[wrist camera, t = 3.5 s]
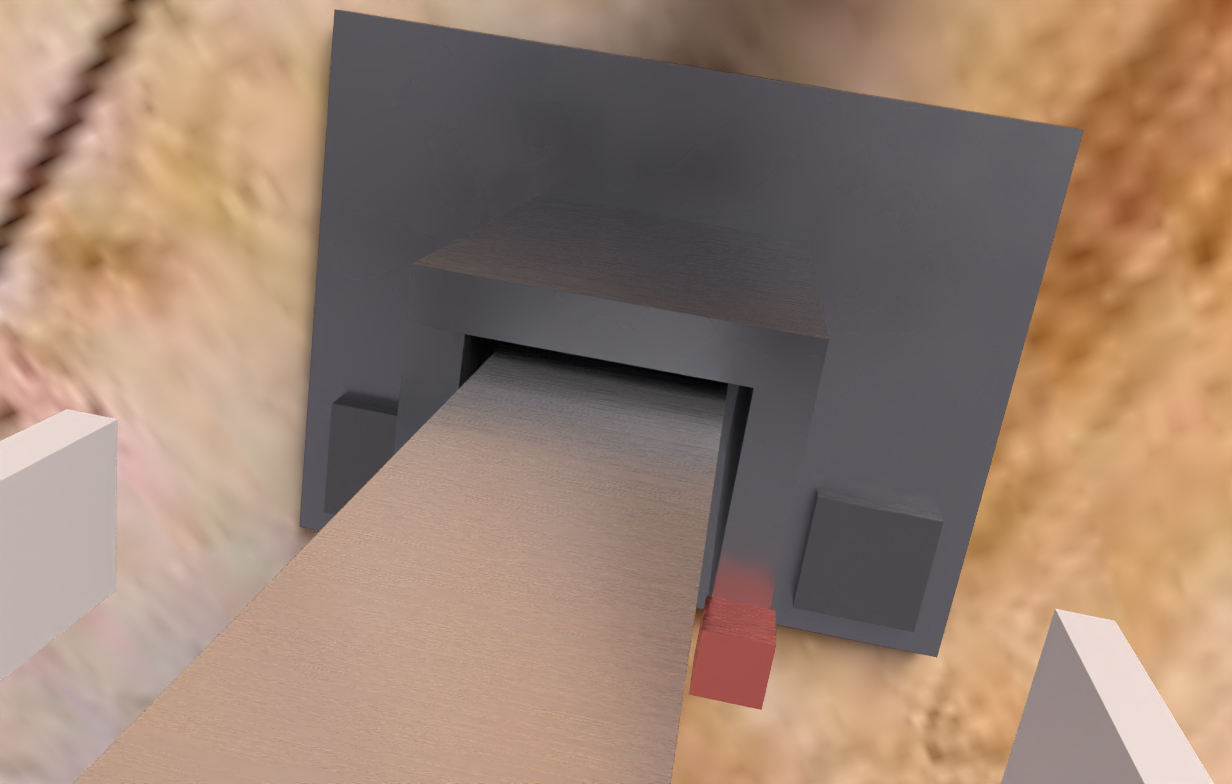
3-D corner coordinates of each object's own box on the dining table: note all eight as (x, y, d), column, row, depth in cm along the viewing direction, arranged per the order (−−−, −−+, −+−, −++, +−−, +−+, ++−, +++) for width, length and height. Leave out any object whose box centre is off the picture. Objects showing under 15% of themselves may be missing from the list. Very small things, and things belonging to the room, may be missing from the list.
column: (558, 441, 29) (-20, 1444, 8) (584, 260, 27) (-45, 904, 6) (706, 470, 28) (519, 1603, 7) (741, 288, 27) (630, 1069, 6)
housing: (313, 513, 32) (49, 769, 20) (349, 11, 27) (39, -30, 16) (932, 638, 30) (1030, 996, 19) (1071, 128, 26) (1314, 177, 14)
